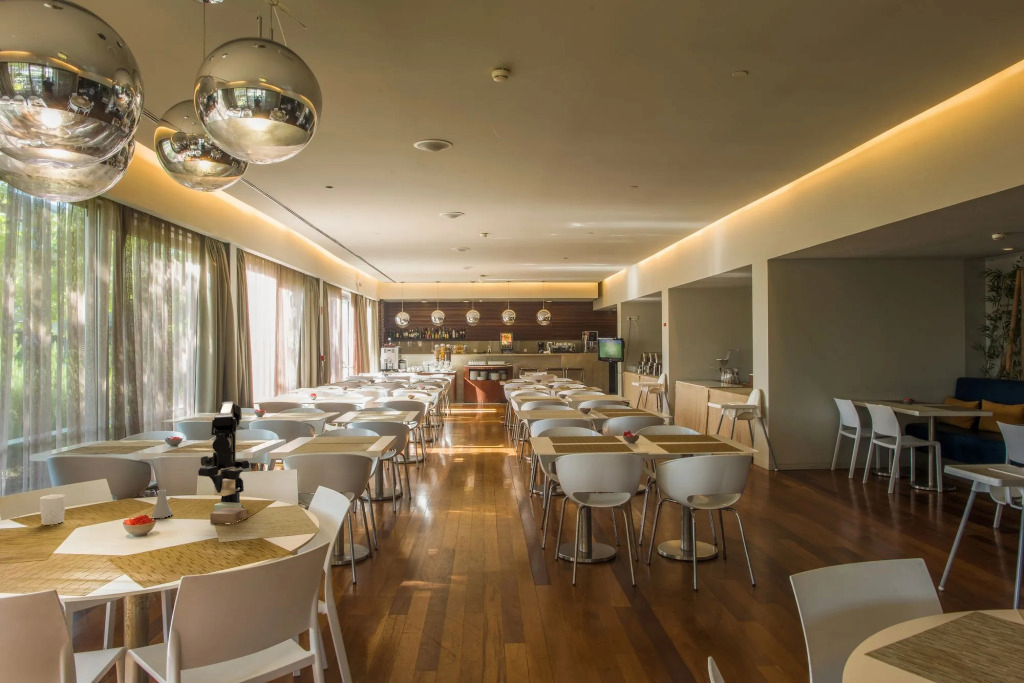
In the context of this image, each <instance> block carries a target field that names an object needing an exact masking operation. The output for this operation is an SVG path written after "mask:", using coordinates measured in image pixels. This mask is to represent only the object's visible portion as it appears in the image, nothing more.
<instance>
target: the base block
mask: <svg viewBox="0 0 1024 683" xmlns="http://www.w3.org/2000/svg"><path fill="white" fill-rule="evenodd" d="M209 514H210V515H209V516H210V518H209V519H210V524H212V523H230V524H232V523H235V522H237V521H239V520H242V519H244V518H247V517H248V508H245V507H244V508H243V507H242V508H229V507H226V508H224V509H221V510H218V511H215V512H214V511H213V512H210V513H209ZM247 519H248V518H247ZM242 521H243V520H242ZM237 523H238V522H237ZM235 524H236V523H235ZM232 525H233V524H232Z"/></svg>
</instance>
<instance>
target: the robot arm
mask: <svg viewBox="0 0 1024 683" xmlns="http://www.w3.org/2000/svg"><path fill="white" fill-rule="evenodd" d="M242 413H243V412H242V408H241V407H240V406H239V405H238V404H236V402H235V401H223V402H221V406H220V407H219V408H218V413H217V414H215V415H214V418H212V419H211V420H212V421H211V433H210V434H211V436H215V439H214V440H213V442H212V450H214V452H212V456H211V457H209V456H208V455H206V456H202V457H200V465H201V467H199V468H198V472H197V475H198V476H199V477H208V478H210V480H211V481H212V483H213V485H215V488H216V490H217V492H218V493H220V492H221V488H222V481H223V479H232V480H235V493H234V494H231V495H227V496H221V498H220V502H231V503H241V502H240V501H241V500H240V493H242V492H244V487H245V486H244V480H243V478H242V477H241V473H242V472H243V471H244V470H245V469H250V462H249V461H248V460H246V459H245V460H244V459H237V458H236V457H237V455H236V454H237V452H236V451H237V450H236V449H237V448H236V447H237V444H236V443H237V431H238V428H239V427H240V425H241V421H242V419H243V414H242ZM243 506H244V505H243V504H242V507H243Z"/></svg>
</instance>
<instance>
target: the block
mask: <svg viewBox="0 0 1024 683" xmlns="http://www.w3.org/2000/svg"><path fill="white" fill-rule="evenodd" d="M242 505H243V504H242V502H240V503H231V502H221V501H220V502H218V503H215V504H213V512H215V511H218V510H221V509H224V508H226V507H229V508H243V506H242Z"/></svg>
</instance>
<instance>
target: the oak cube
mask: <svg viewBox="0 0 1024 683" xmlns="http://www.w3.org/2000/svg"><path fill="white" fill-rule="evenodd" d="M213 485H214V484H213ZM213 488H214V492H213V493H214V496H221V497H222V496H227V495H231V494H234V493H235V480H232V479H223V481H222V488H221V492H220V493H218V492H217V490H216V488H215V485H214V487H213Z"/></svg>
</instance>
